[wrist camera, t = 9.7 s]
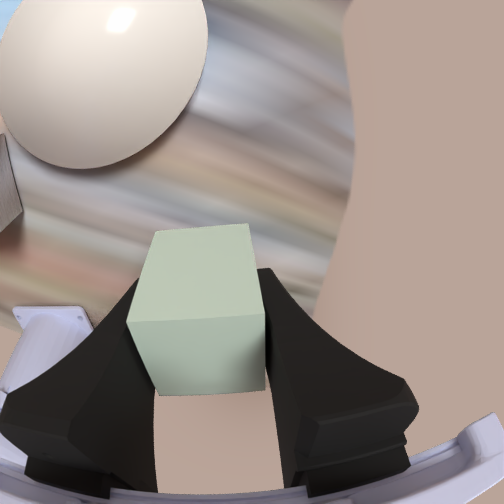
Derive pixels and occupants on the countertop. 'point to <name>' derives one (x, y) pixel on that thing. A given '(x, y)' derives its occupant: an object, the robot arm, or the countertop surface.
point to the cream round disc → (98, 75)
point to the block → (200, 312)
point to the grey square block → (7, 189)
